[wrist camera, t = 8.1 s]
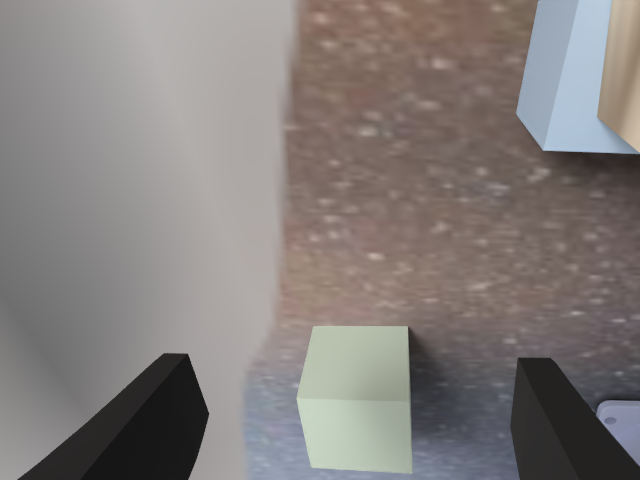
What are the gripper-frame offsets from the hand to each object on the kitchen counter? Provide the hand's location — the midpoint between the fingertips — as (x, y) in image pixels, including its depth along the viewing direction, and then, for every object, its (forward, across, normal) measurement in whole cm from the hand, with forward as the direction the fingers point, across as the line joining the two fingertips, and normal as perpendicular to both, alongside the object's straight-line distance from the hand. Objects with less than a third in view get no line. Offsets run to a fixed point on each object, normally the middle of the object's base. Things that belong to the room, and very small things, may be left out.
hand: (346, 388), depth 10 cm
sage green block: (+10, +1, +9) cm, 13 cm away
